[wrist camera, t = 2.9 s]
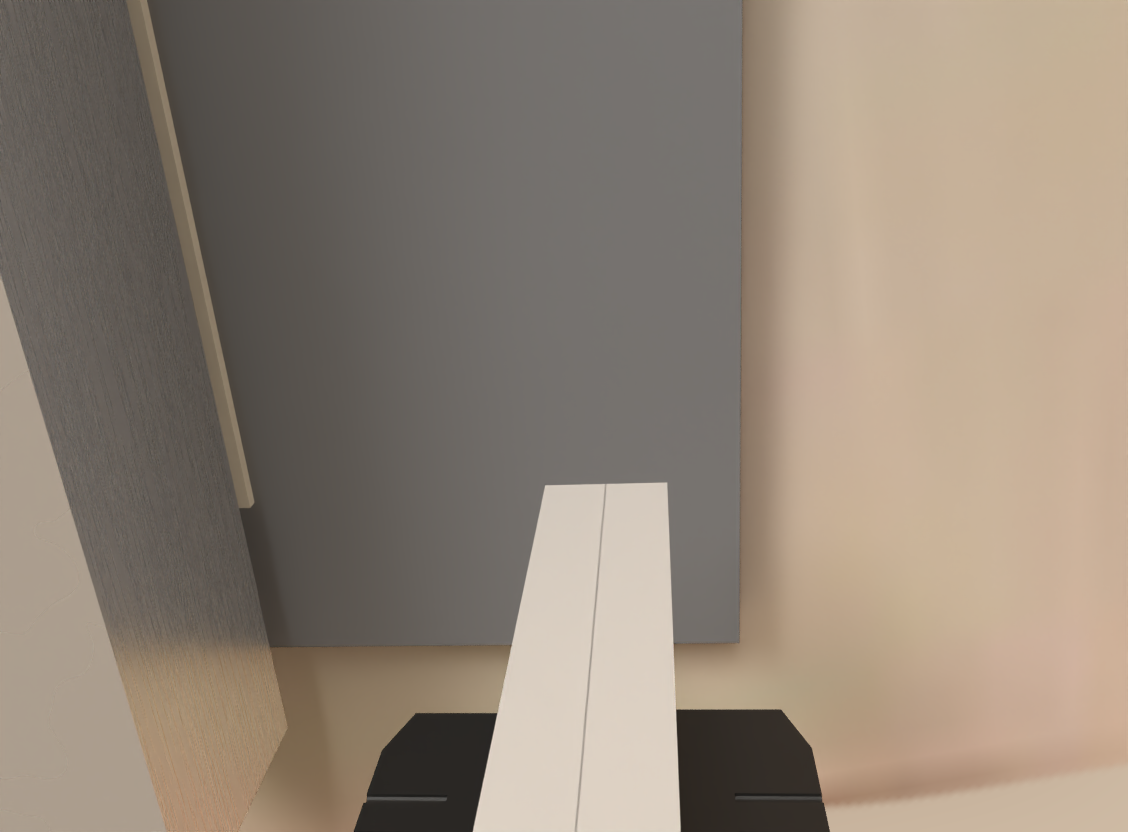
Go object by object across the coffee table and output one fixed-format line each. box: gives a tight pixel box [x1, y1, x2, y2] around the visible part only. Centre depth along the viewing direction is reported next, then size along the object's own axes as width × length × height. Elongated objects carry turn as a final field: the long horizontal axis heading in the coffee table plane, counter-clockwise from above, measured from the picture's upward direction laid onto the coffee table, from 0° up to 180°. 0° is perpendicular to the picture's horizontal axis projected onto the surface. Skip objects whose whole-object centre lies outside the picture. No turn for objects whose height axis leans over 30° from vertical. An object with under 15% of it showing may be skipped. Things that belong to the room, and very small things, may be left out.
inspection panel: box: [126, 0, 742, 647], centre depth 15 cm, size 20×20×1 cm
